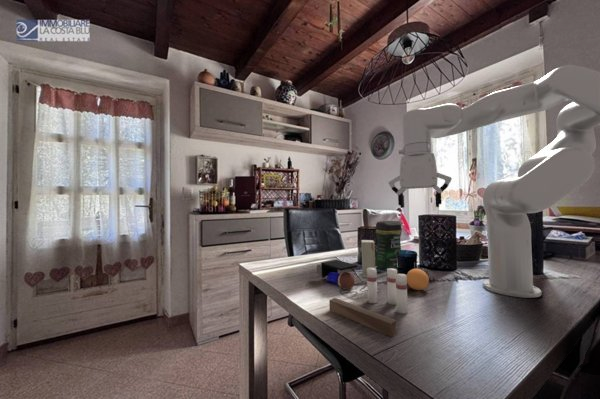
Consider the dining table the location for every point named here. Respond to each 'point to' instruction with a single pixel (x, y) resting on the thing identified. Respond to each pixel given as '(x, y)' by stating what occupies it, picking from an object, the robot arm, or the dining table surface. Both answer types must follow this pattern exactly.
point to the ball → (417, 279)
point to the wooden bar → (364, 316)
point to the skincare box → (367, 255)
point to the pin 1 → (372, 285)
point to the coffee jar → (388, 244)
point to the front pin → (391, 285)
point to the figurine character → (331, 273)
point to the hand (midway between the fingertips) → (419, 207)
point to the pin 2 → (401, 293)
